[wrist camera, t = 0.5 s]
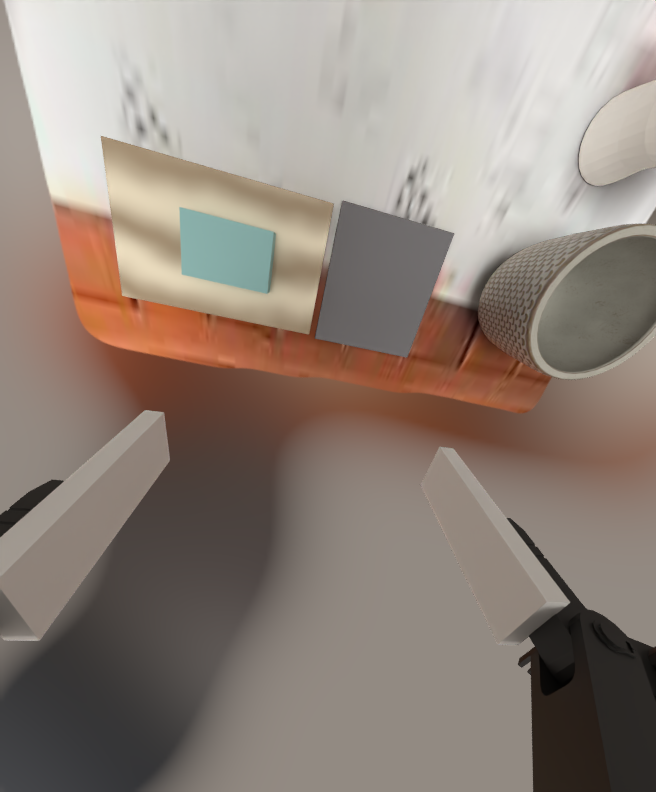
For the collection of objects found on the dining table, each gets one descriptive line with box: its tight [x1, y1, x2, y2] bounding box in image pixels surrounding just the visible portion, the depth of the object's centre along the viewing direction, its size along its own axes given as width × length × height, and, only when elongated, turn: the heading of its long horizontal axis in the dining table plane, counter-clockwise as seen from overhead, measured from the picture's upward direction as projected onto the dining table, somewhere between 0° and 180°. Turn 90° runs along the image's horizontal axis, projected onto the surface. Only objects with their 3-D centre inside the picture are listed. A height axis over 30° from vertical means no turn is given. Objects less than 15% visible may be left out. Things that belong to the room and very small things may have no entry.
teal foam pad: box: [179, 207, 276, 294], centre depth 27 cm, size 9×6×2 cm, turn 77°
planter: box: [478, 224, 656, 380], centre depth 29 cm, size 14×14×13 cm
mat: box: [315, 201, 454, 357], centre depth 33 cm, size 16×14×1 cm
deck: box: [101, 136, 334, 334], centre depth 29 cm, size 14×22×3 cm, turn 77°
